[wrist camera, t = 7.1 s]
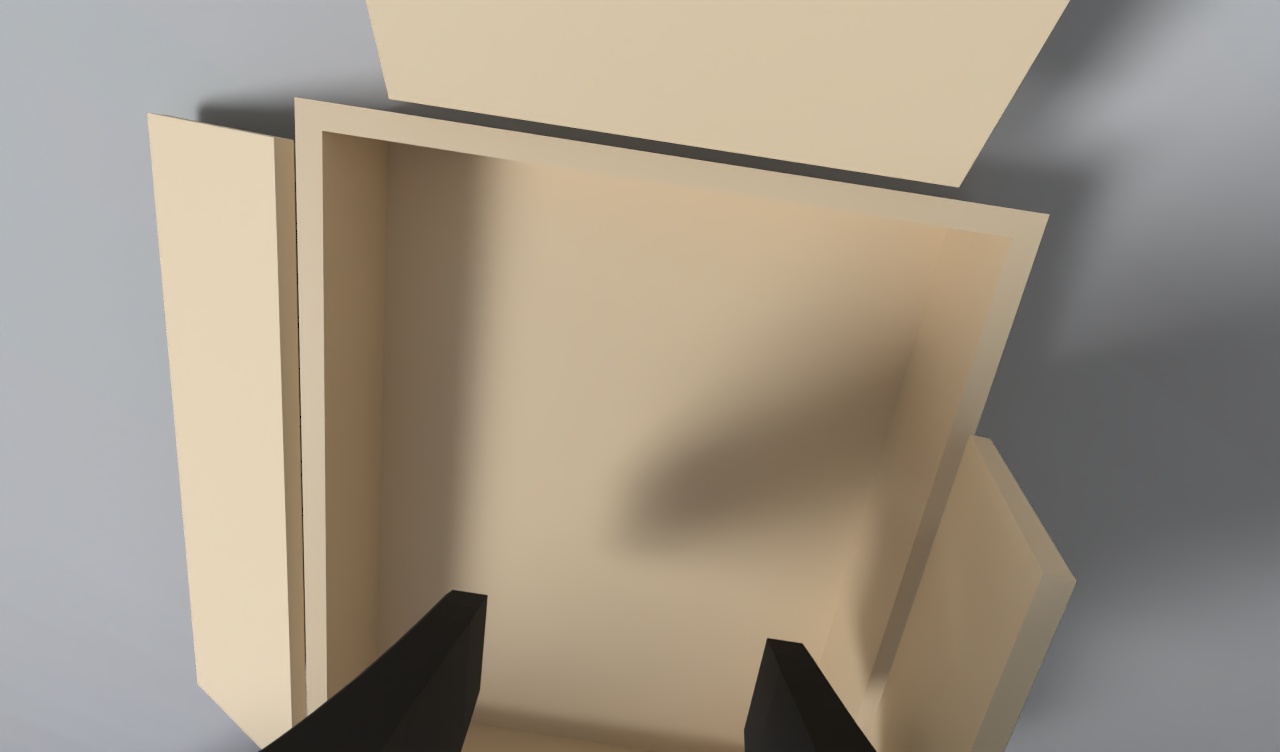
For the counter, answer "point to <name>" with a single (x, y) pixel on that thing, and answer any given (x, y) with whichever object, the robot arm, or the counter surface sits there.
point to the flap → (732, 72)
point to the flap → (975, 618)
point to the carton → (561, 415)
